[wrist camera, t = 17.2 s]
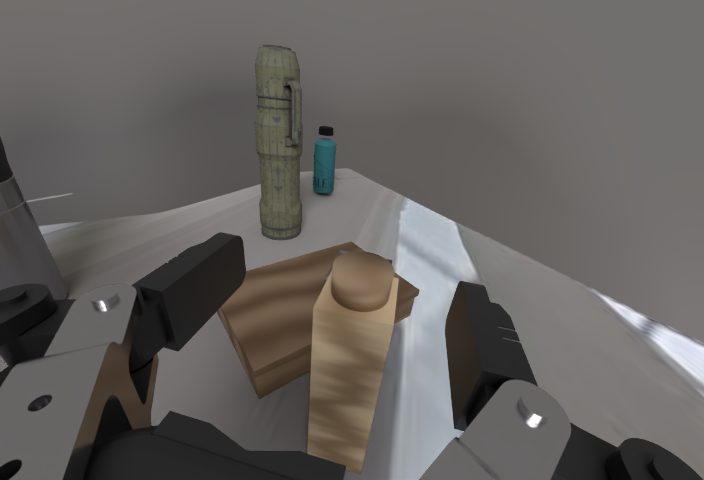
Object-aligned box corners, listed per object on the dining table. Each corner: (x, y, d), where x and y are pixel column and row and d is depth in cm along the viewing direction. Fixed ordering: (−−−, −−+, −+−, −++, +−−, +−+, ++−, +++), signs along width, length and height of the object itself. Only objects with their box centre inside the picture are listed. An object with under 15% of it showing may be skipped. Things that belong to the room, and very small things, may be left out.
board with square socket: (213, 309, 41) (205, 263, 37) (348, 264, 55) (352, 227, 51) (258, 405, 30) (253, 352, 26) (414, 317, 44) (426, 274, 40)
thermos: (279, 217, 71) (275, 50, 55) (313, 233, 65) (320, 52, 49) (248, 227, 65) (233, 42, 48) (283, 246, 59) (279, 42, 42)
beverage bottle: (332, 191, 92) (337, 125, 83) (334, 198, 86) (338, 129, 77) (312, 190, 91) (314, 123, 82) (312, 197, 85) (314, 127, 76)
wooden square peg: (307, 458, 26) (314, 281, 17) (323, 406, 30) (336, 242, 21) (360, 474, 25) (399, 299, 16) (369, 418, 30) (403, 255, 20)
